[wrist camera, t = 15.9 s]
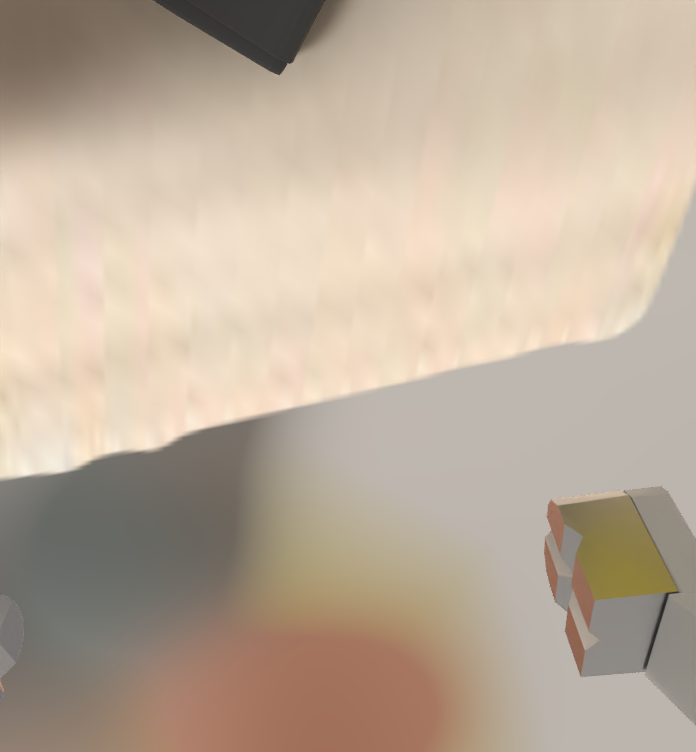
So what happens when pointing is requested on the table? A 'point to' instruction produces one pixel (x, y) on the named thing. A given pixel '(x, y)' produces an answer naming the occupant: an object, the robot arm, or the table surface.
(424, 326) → the table surface
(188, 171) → the table surface
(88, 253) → the table surface
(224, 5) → the card reader
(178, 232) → the table surface
